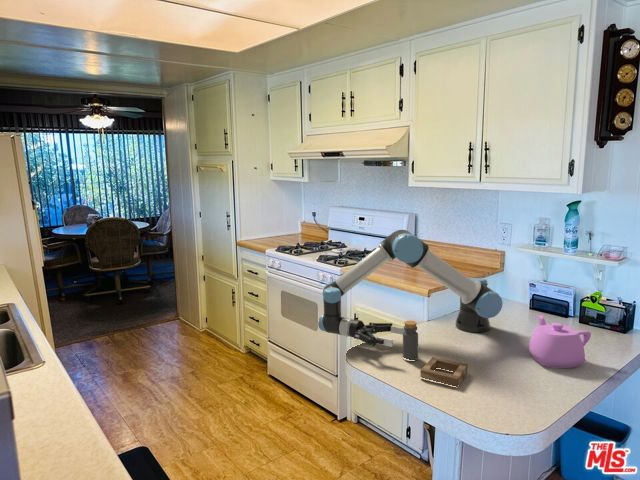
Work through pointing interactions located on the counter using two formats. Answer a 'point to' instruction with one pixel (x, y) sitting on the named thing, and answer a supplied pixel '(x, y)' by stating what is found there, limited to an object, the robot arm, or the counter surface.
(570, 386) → the counter surface
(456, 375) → the block
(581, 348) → the teapot
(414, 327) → the bottle
